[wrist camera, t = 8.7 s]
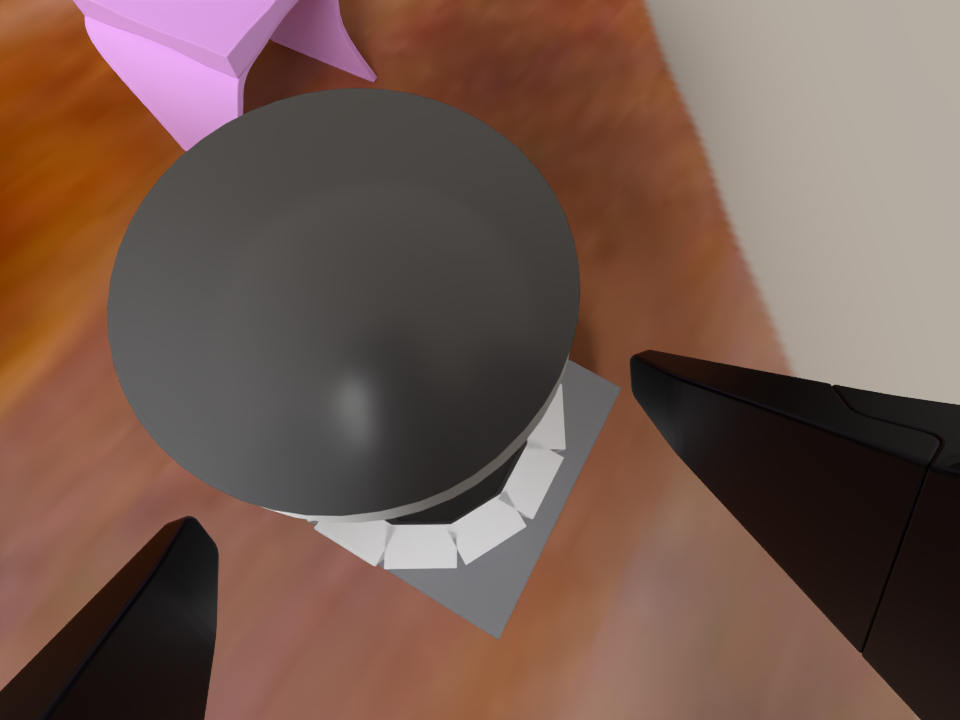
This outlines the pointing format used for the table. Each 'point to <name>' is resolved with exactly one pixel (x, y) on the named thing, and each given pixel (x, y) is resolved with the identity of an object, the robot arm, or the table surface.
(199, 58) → the toy chair
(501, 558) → the ringed square flange
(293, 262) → the grey domed cylinder
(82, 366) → the table surface
